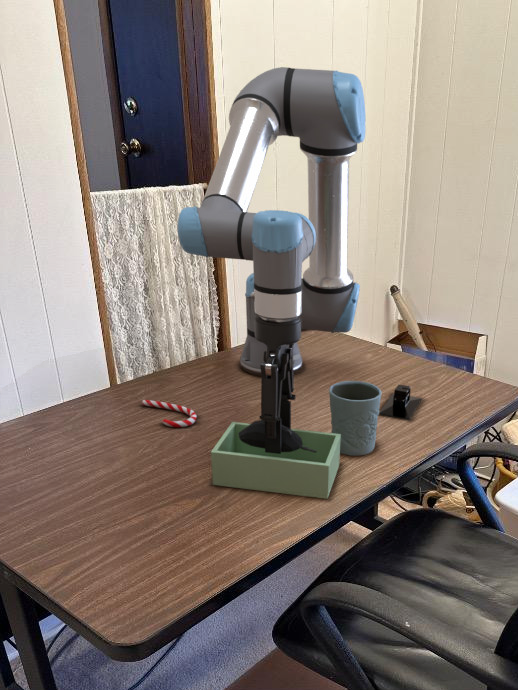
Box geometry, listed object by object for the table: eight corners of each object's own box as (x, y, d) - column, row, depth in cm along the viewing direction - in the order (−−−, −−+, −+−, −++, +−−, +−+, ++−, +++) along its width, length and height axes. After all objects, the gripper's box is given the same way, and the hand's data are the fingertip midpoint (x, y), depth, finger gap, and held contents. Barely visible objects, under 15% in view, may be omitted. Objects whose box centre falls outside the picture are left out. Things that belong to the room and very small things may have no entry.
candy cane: (154, 394, 150) (205, 413, 144) (154, 400, 151) (206, 419, 144) (125, 405, 144) (178, 425, 138) (126, 411, 145) (178, 431, 139)
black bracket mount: (409, 420, 151) (411, 401, 149) (377, 414, 153) (378, 395, 150) (421, 399, 161) (423, 380, 159) (391, 394, 163) (393, 375, 160)
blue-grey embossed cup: (368, 461, 133) (372, 404, 127) (319, 451, 136) (321, 394, 129) (383, 440, 142) (387, 385, 136) (336, 430, 144) (339, 376, 138)
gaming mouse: (309, 460, 119) (309, 439, 117) (232, 443, 122) (231, 422, 120) (323, 445, 124) (324, 425, 122) (249, 429, 128) (248, 409, 125)
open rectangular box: (233, 452, 133) (232, 421, 129) (339, 465, 131) (340, 434, 128) (212, 485, 122) (210, 451, 118) (327, 499, 121) (329, 465, 117)
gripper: (270, 297, 120) (271, 418, 132) (237, 331, 103) (242, 466, 115) (312, 301, 119) (309, 422, 131) (287, 336, 103) (286, 471, 115)
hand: (278, 442), depth 123 cm, fingers closed on gaming mouse, 7 cm apart
